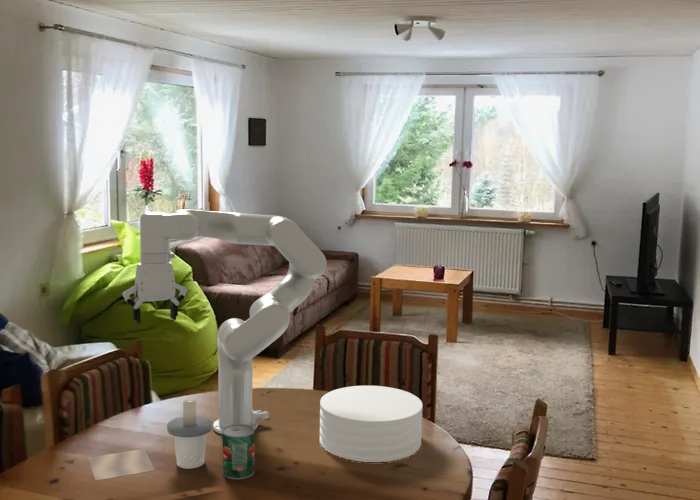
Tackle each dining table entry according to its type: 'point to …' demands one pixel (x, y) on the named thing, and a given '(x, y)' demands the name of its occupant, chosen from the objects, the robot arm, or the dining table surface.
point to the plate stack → (370, 423)
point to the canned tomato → (238, 451)
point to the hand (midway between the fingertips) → (155, 320)
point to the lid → (189, 422)
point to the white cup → (190, 451)
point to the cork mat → (120, 464)
